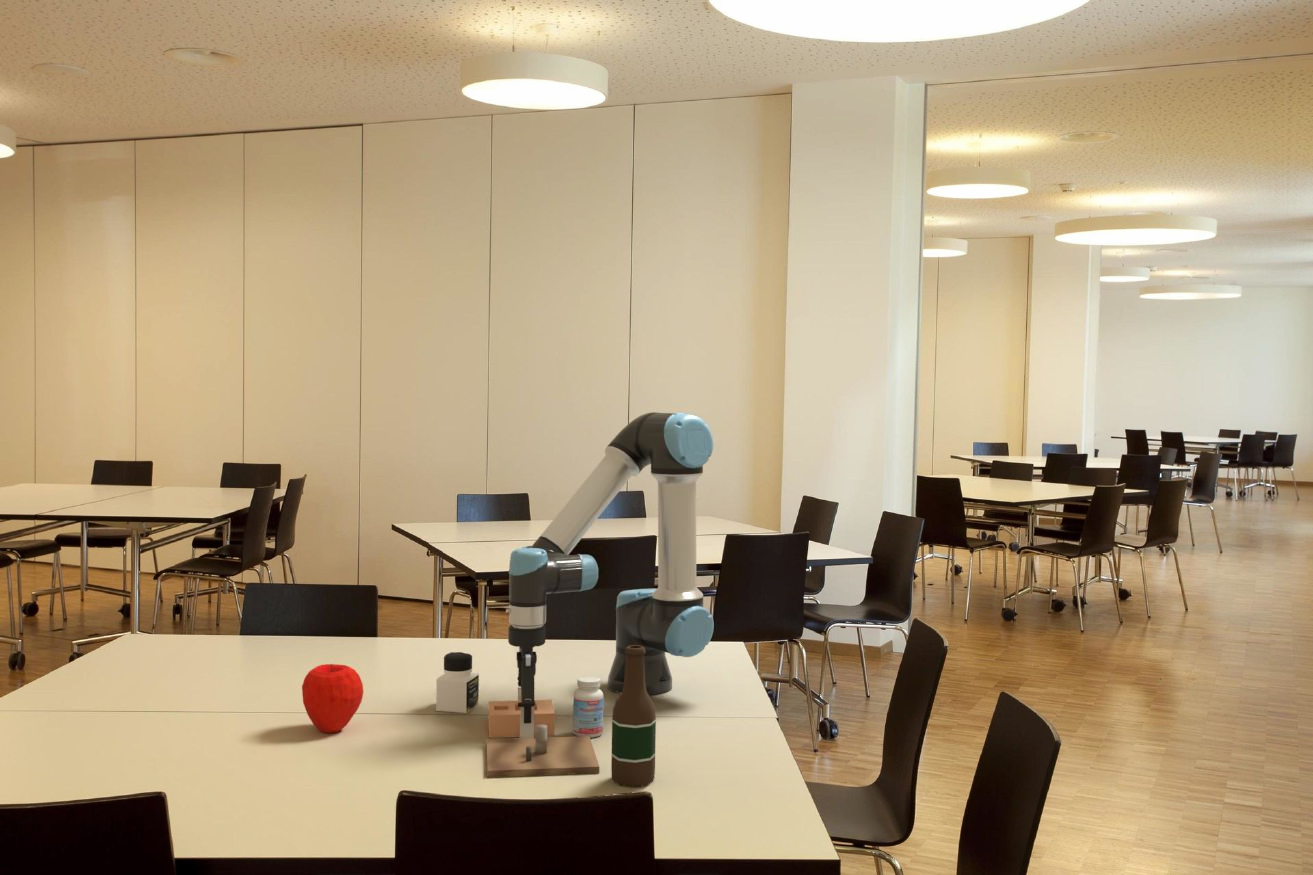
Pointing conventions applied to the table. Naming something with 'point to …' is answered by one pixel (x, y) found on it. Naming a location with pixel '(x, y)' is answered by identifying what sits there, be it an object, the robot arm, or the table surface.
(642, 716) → the beer bottle
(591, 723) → the pill bottle
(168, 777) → the table surface
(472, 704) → the medicine bottle
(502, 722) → the salmon block with slots
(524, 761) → the post board
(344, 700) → the apple
